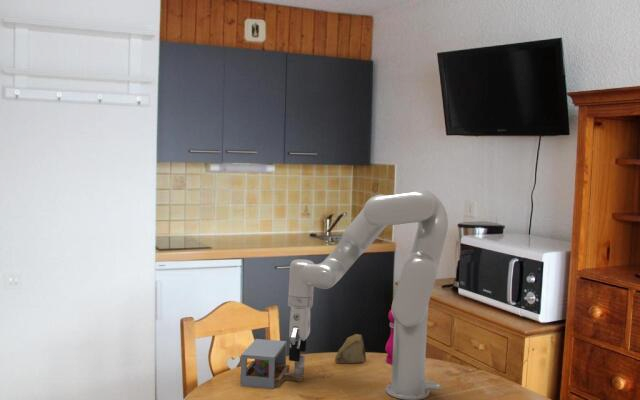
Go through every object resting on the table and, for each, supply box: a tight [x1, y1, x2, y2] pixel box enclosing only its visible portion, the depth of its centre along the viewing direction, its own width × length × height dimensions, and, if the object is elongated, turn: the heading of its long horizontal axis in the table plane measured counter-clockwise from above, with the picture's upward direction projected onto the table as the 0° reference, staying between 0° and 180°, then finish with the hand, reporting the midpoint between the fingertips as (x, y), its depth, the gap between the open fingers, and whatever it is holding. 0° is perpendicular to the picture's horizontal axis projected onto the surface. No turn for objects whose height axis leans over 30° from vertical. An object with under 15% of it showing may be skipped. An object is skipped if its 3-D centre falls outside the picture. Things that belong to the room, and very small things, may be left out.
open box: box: [240, 338, 287, 390], centre depth 208 cm, size 10×17×10 cm, turn 171°
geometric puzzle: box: [252, 359, 277, 377], centre depth 208 cm, size 7×7×8 cm
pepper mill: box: [384, 309, 395, 365], centre depth 227 cm, size 7×7×20 cm
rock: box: [334, 333, 367, 364], centre depth 227 cm, size 11×9×10 cm
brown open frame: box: [239, 354, 305, 387], centre depth 208 cm, size 18×14×7 cm
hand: (297, 355), depth 206 cm, fingers open, 9 cm apart
